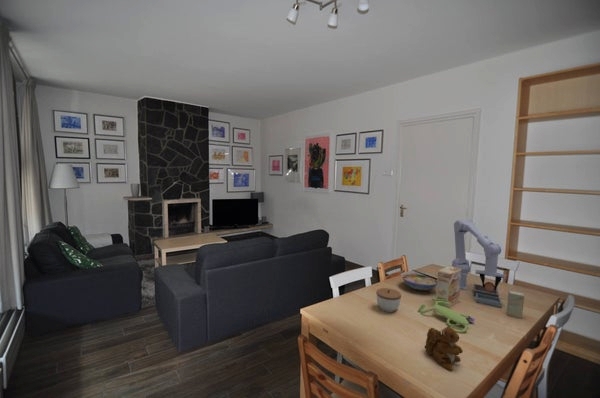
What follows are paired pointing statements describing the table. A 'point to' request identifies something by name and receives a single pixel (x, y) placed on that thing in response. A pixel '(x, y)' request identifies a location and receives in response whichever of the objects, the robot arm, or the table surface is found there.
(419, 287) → the ramen bowl
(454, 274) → the coffeecake box
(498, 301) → the tray
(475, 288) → the grey square frame
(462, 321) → the figurine
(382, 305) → the lidded bowl
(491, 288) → the ball
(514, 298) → the skincare box
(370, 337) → the table surface
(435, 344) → the stuffed squirrel
